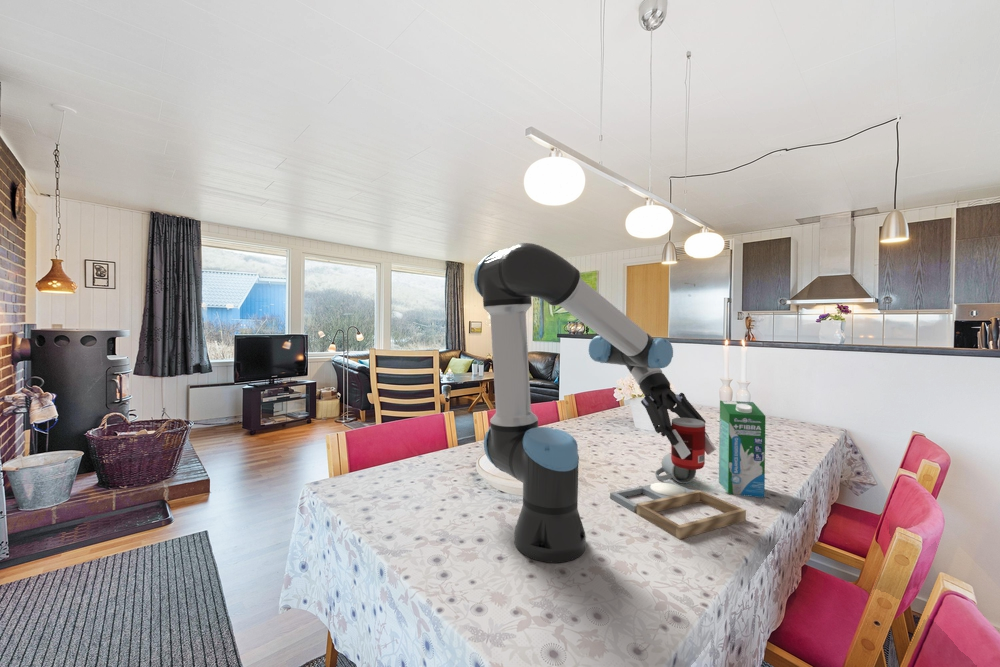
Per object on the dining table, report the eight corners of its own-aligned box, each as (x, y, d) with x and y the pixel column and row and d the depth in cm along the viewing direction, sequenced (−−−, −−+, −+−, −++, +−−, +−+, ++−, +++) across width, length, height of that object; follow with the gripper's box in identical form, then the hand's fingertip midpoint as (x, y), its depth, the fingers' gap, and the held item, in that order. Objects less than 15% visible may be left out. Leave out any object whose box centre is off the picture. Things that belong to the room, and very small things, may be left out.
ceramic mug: (681, 473, 127) (681, 449, 127) (696, 483, 119) (696, 457, 118) (650, 475, 125) (649, 451, 125) (663, 485, 117) (663, 459, 117)
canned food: (701, 460, 102) (701, 418, 101) (708, 471, 94) (708, 425, 94) (669, 457, 104) (669, 416, 104) (673, 468, 96) (673, 423, 96)
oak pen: (679, 539, 86) (679, 527, 86) (636, 513, 98) (636, 503, 98) (745, 520, 95) (745, 510, 95) (699, 499, 107) (699, 490, 107)
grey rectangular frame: (633, 512, 99) (633, 505, 99) (610, 498, 107) (610, 492, 107) (695, 497, 108) (696, 491, 108) (669, 485, 116) (669, 480, 116)
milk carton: (728, 494, 111) (729, 405, 111) (718, 482, 119) (719, 400, 119) (764, 497, 109) (765, 407, 108) (752, 485, 117) (753, 401, 117)
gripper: (671, 385, 117) (719, 456, 102) (614, 389, 109) (658, 466, 94) (686, 369, 112) (738, 441, 97) (628, 372, 104) (676, 451, 89)
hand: (699, 453), depth 96 cm, fingers closed on canned food, 8 cm apart
